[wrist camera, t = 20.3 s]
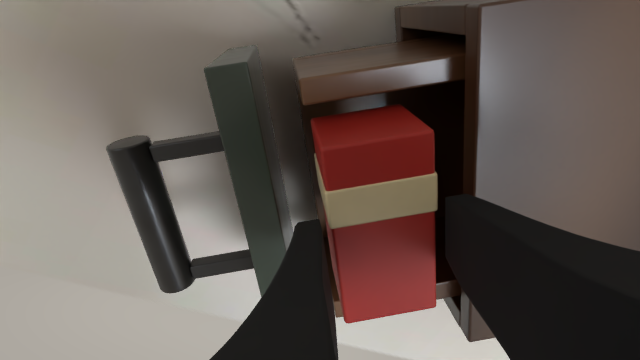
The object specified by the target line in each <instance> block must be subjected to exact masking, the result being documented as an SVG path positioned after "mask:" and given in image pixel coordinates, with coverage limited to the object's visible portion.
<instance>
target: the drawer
mask: <svg viewBox="0 0 640 360" xmlns="http://www.w3.org/2000/svg"><path fill="white" fill-rule="evenodd" d="M465 55H466V35H458V34H446V35H440V36H433V37H427V38H420V39H414V40H407V41H401V42H395V43H388V44H382V45H375V46H369V47H362V48H356V49H349V50H343V51H336V52H330V53H324V54H317V55H311V56H304V57H298V58H293V59H292V62H293V69H294V75H295V81H296V87H297V94H298V100H299V106H300V112H301V119H302V125H303V131H304V137H305V143H306V150H307V156H308V162H309V168H310V175H311V181H312V187H313V193H314V200H315V206H316V212H317V218H318V219H319V220H320V224H321V228H322V233H323V240H324V246H325V253H326V259H327V265H328V272H329V278H330V284H331V291H332V297H333V303H334V310H335V316H336V317H337V318H338V317H343V312H342V308H341V303H340V299H339V294H338V290H337V285H336V281H335V276H334V272H333V267H332V261H331V254H330V247H329V241H328V234H327V227H326V221H325V214H324V207H323V201H322V196H321V192H320V188H319V184H318V178H317V171H316V165H315V158H314V154H315V148H314V141H313V134H312V128H311V119H312V118H316V117H322V116H329V115H335V114H341V113H347V112H353V111H359V110H366V109H372V108H378V107H384V106H390V105H396V104H400V105H402V106H403V107H405V108H406V109H407V110H408V111H410V112H411V113H412V114H414V115H415V116H416V117H417V118H419V119H420V120H421V121H422V122H424V123H425V124H426V125H428V126H429V127H430V128H431V129H433V130H434V138H435V172H436V173H437V176H438V209H437V211H435V242H436V299H442V298H447V297H453V296H458V295H461V286H460V285H459V283H458V281H457V279H456V277H455V275H454V273H453V271H452V269H451V267H450V265H449V263H448V261H447V259H446V257H445V197H449V196H455V195H461V194H463V163H464V109H465ZM204 73H205V77H206V81H207V85H208V88H209V92H210V96H211V100H212V104H213V108H214V112H215V116H216V120H217V124H218V128H219V131H217V132H211V133H205V134H199V135H193V136H186V137H180V138H174V139H168V140H162V141H155V142H153V143H151V140H150V138H149V137H148V136H133V137H128V138H124V139H121V140H118V141H115V142H113V143H111V144H110V145H108V146H107V148H106V150H107V152H108V155H109V158H110V160H111V163H112V165H113V168H114V171H115V173H116V176H117V178H118V181H119V183H120V186H121V189H122V191H123V194H124V196H125V199H126V201H127V204H128V207H129V209H130V212H131V214H132V217H133V219H134V222H135V225H136V227H137V230H138V232H139V235H140V238H141V240H142V243H143V245H144V248H145V250H146V253H147V256H148V258H149V261H150V263H151V266H152V268H153V271H154V274H155V276H156V279H157V281H158V284H159V287H160V289H161V290H162V291H163V292H165V293H176V292H179V291H182V290H184V289H186V288H187V287H189V286H190V285H191V284H192V283H193V282H194V280H195V279H196V278H202V277H207V276H213V275H219V274H224V273H230V272H236V271H241V270H247V269H253V268H254V270H255V273H256V277H257V281H258V285H259V289H260V293H261V297H262V296H263V295H264V293H265V292H266V290H267V288H268V287H269V285H270V283H271V281H272V279H273V278H274V276H275V274H276V272H277V270H278V269H279V267H280V265H281V263H282V260H283V258H284V256H285V254H286V252H287V249H288V247H289V244H290V242H291V239H292V236H293V228H292V223H291V217H290V212H289V207H288V202H287V197H286V192H285V186H284V181H283V176H282V171H281V166H280V161H279V155H278V150H277V145H276V140H275V135H274V130H273V124H272V119H271V114H270V109H269V104H268V99H267V93H266V88H265V83H264V78H263V73H262V68H261V62H260V57H259V52H258V47H257V45H251V46H245V47H238V48H232V49H228V50H227V51H226V52H224V53H223V54H222V55H221V56H219V57H218V58H217V59H215V60H214V61H213V62H212V63H210V64H209V65H208V66H207V67H205V68H204ZM221 151H225V155H226V159H227V163H228V167H229V171H230V175H231V179H232V183H233V187H234V191H235V195H236V199H237V203H238V207H239V210H240V214H241V218H242V222H243V226H244V230H245V234H246V238H247V242H248V246H249V249H248V250H242V251H237V252H231V253H225V254H219V255H214V256H208V257H202V258H196V259H193V260H192V262H191V259H190V256H189V253H188V250H187V247H186V245H185V242H184V239H183V236H182V233H181V230H180V227H179V224H178V221H177V218H176V215H175V212H174V209H173V206H172V203H171V200H170V197H169V194H168V191H167V188H166V185H165V182H164V179H163V176H162V173H161V170H160V167H159V164H158V162H160V161H166V160H172V159H179V158H185V157H191V156H197V155H203V154H209V153H215V152H221Z"/></svg>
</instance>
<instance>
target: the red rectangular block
mask: <svg viewBox="0 0 640 360" xmlns="http://www.w3.org/2000/svg"><path fill="white" fill-rule="evenodd" d="M311 128H312V134H313V141H314V148H315V154H314V158H315V165H316V171H317V178H318V184H319V188H320V192H321V196H322V201H323V207H324V214H325V221H326V227H327V234H328V241H329V247H330V254H331V261H332V267H333V272H334V276H335V281H336V285H337V290H338V294H339V299H340V303H341V308H342V312H343V317H344V321H345V322H346V323H353V322H358V321H364V320H369V319H375V318H380V317H385V316H391V315H396V314H402V313H407V312H413V311H418V310H423V309H429V308H434V307H436V242H435V211H437V209H438V176H437V173H436V172H435V138H434V130H433V129H431V128H430V127H429V126H428V125H426V124H425V123H424V122H422V121H421V120H420V119H419V118H417V117H416V116H415V115H414V114H412V113H411V112H410V111H408V110H407V109H406V108H405V107H403V106H402V105H400V104H396V105H390V106H384V107H378V108H372V109H366V110H359V111H353V112H347V113H341V114H335V115H329V116H322V117H316V118H312V119H311Z"/></svg>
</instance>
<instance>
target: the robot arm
mask: <svg viewBox="0 0 640 360" xmlns="http://www.w3.org/2000/svg"><path fill="white" fill-rule="evenodd" d="M445 257H446V259H447V261H448V263H449V265H450V267H451V269H452V271H453V273H454V275H455V277H456V279H457V281H458V283H459V285H460V286H461V288H462V289H463V291H464V292H465V294H466V295H467V297H468V298H469V300H470V301H471V303H472V304H473V306H474V307H475V308H476V310H477V311H478V313H479V314H480V316H481V317H482V319H483V320H484V321H485V323H486V324H487V326H488V327H489V329H490V330H491V332H492V333H493V334H494V336H495V337H496V339H497V340H498V342H499V343H500V344H501V346H502V347H503V349H504V350H505V352H506V353H507V355H508V357H509V358H510V360H640V251H637V250H632V249H628V248H624V247H620V246H616V245H613V244H609V243H605V242H602V241H598V240H594V239H590V238H587V237H584V236H580V235H577V234H574V233H571V232H568V231H565V230H562V229H559V228H556V227H553V226H550V225H548V224H545V223H542V222H539V221H537V220H534V219H531V218H529V217H526V216H524V215H521V214H519V213H516V212H513V211H511V210H508V209H506V208H504V207H501V206H499V205H496V204H494V203H491V202H489V201H486V200H483V199H481V198H478V197H475V196H472V195H469V194H461V195H455V196H449V197H445ZM210 360H338V349H337V337H336V324H335V312H334V303H333V297H332V291H331V284H330V278H329V272H328V265H327V259H326V253H325V246H324V240H323V233H322V228H321V224H320V220H319V219H316V220H310V221H304V222H298V223H297V225H296V226H295V228H294V233H293V236H292V239H291V242H290V244H289V247H288V249H287V252H286V254H285V256H284V258H283V260H282V263H281V265H280V267H279V269H278V270H277V272H276V274H275V276H274V278H273V279H272V281H271V283H270V285H269V287H268V288H267V290H266V292H265V293H264V295H263V296H262V298H261V299H260V301H259V302H258V304H257V305H256V306H255V308H254V309H253V311H252V312H251V313H250V315H249V316H248V317H247V319H246V320H245V321H244V322H243V324H242V325H241V326H240V327H239V329H238V330H237V331H236V332H235V333H234V335H233V336H232V337H231V338H230V339H229V340H228V341H227V343H226V344H225V345H224V346H223V347H222V348H221V349H220V350H219V351H218V352H217V353H216V354H215V355H214V356H213V357H212V358H211V359H210Z"/></svg>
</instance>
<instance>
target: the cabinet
mask: <svg viewBox="0 0 640 360" xmlns="http://www.w3.org/2000/svg"><path fill="white" fill-rule="evenodd" d="M395 20H396V40H397V42H401V41H407V40H414V39H420V38H427V37H433V36H440V35H446V34H458V35H466V55H465V109H464V163H463V194H469V195H472V196H475V197H478V198H481V199H483V200H486V201H489V202H491V203H494V204H496V205H499V206H501V207H504V208H506V209H508V210H511V211H513V212H516V213H519V214H521V215H524V216H526V217H529V218H531V219H534V220H537V221H539V222H542V223H545V224H548V225H550V226H553V227H556V228H559V229H562V230H565V231H568V232H571V233H574V234H577V235H580V236H584V237H587V238H590V239H594V240H598V241H602V242H605V243H609V244H613V245H616V246H620V247H624V248H628V249H632V250H637V251H640V0H437V1H431V2H424V3H417V4H411V5H404V6H398V7H395ZM443 299H444V301H445V302H446V304H447V306H448V308H449V309H450V311H451V313H452V315H453V316H454V318H455V320H456V321H457V323H458V325H459V326H460V327H461V329H462V331H463V333H464V334H465V336H466V338H467V340H468V341H469V342H474V341H479V340H484V339H490V338H495V336H494V334H493V333H492V332H491V330H490V329H489V327H488V326H487V324H486V323H485V321H484V320H483V319H482V317H481V316H480V314H479V313H478V311H477V310H476V308H475V307H474V306H473V304H472V303H471V301H470V300H469V298H468V297H467V295H466V294H465V292H464V291H463V289H462V288H461V295H458V296H453V297H447V298H443Z"/></svg>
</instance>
